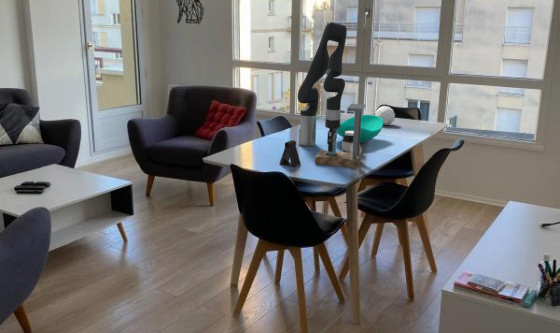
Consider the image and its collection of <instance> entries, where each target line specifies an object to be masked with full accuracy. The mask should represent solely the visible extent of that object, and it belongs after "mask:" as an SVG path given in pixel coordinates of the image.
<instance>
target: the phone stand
mask: <svg viewBox="0 0 560 333" xmlns="http://www.w3.org/2000/svg"><path fill="white" fill-rule="evenodd" d="M298 153H299V152H298V148H297V141H296V140H293V139H292V140H288V141H286V142H284V149H283V152H282V154H281V158H280V161H279V165H280V166H286V167H292V168H296V167H299V166H300V165H301V163H302V162H301V159H300V156H299V154H298Z"/></svg>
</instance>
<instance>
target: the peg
mask: <svg viewBox="0 0 560 333" xmlns="http://www.w3.org/2000/svg"><path fill="white" fill-rule="evenodd" d="M330 141H331V140H330ZM327 151H328V150H327ZM336 152H337V138H336V139H335V140H334V141H333V151H332V152H329V151H328V156H336Z"/></svg>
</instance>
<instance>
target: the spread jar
mask: <svg viewBox="0 0 560 333" xmlns="http://www.w3.org/2000/svg"><path fill="white" fill-rule="evenodd" d="M353 137H354V131H346V132H345V136H344V137H342V141H341V150H342V151H341V152H349V153H353ZM361 146H362V145H360V153H362V147H361Z"/></svg>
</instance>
